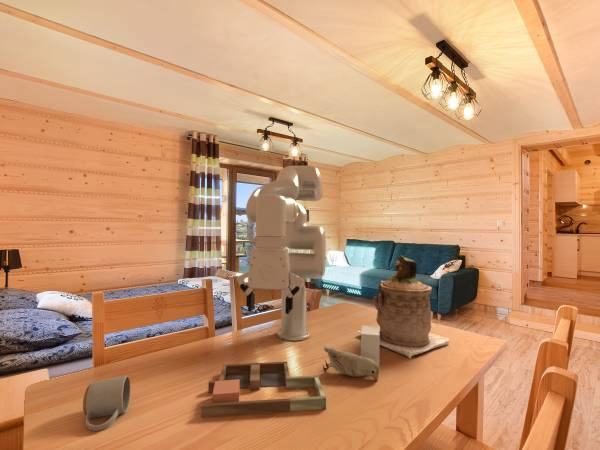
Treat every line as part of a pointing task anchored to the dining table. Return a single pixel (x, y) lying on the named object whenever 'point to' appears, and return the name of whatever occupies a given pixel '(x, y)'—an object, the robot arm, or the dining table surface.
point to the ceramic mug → (106, 400)
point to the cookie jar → (405, 312)
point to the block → (226, 391)
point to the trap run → (269, 377)
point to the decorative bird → (351, 363)
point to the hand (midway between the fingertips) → (269, 311)
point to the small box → (370, 343)
